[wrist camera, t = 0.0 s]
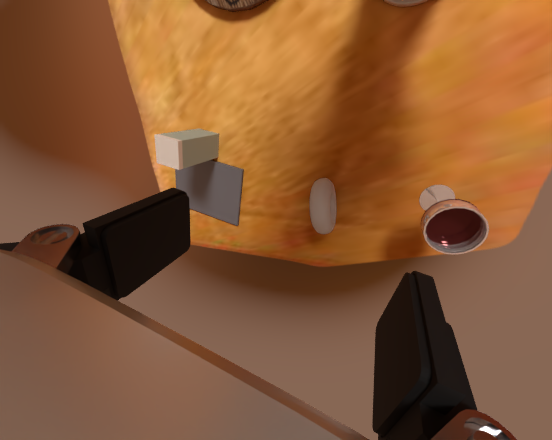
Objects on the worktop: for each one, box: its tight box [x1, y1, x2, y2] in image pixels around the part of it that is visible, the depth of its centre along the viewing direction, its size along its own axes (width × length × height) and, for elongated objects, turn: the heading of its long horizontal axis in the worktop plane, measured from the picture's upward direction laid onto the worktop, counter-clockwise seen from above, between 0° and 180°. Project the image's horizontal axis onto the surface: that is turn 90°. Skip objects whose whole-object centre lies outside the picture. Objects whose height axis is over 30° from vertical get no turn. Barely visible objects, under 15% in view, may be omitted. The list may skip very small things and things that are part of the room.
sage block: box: [155, 129, 219, 170], centre depth 47 cm, size 5×5×12 cm
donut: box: [310, 178, 337, 234], centre depth 42 cm, size 10×3×10 cm, turn 10°
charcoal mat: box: [175, 160, 244, 226], centre depth 57 cm, size 14×18×1 cm
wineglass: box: [419, 185, 489, 254], centre depth 35 cm, size 7×7×12 cm
